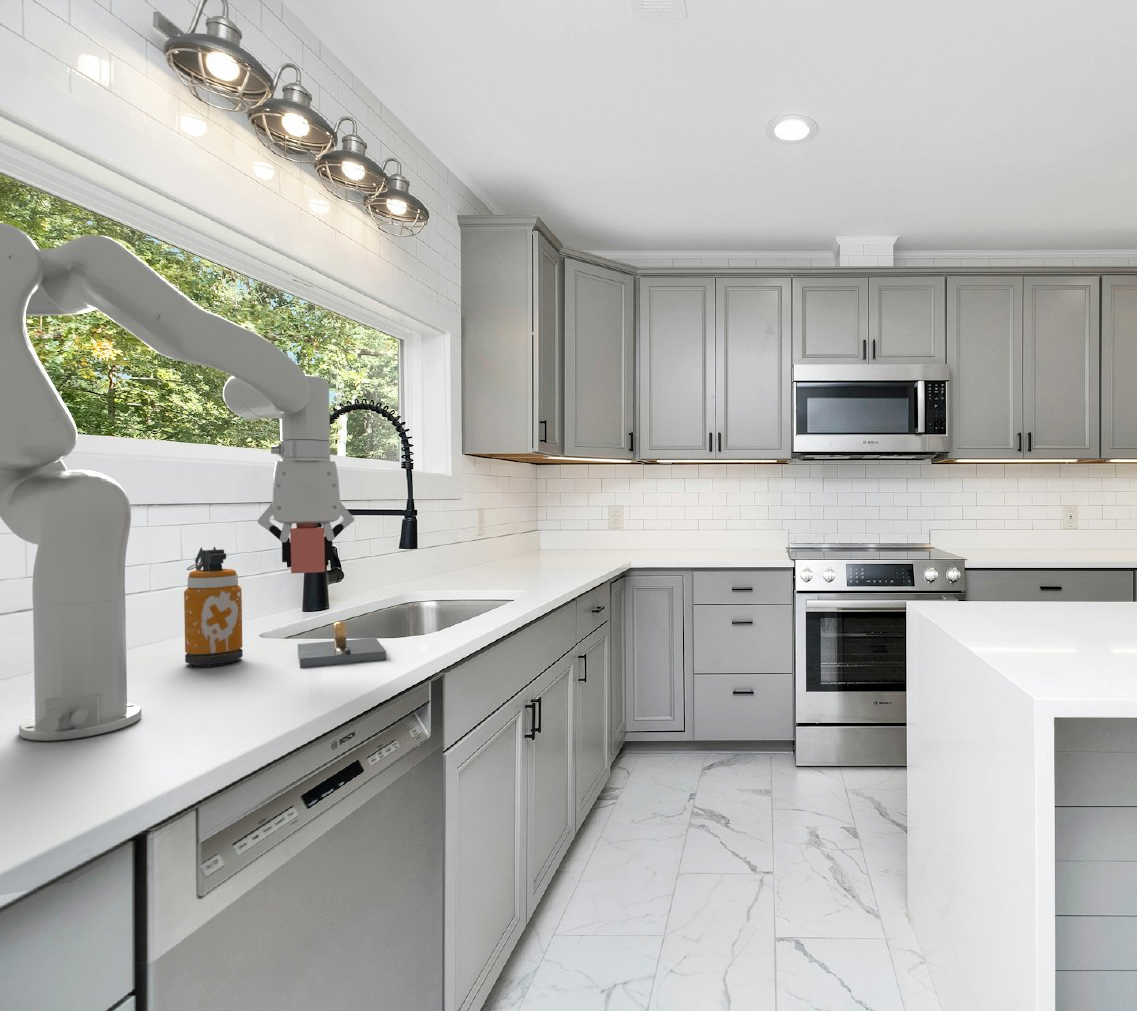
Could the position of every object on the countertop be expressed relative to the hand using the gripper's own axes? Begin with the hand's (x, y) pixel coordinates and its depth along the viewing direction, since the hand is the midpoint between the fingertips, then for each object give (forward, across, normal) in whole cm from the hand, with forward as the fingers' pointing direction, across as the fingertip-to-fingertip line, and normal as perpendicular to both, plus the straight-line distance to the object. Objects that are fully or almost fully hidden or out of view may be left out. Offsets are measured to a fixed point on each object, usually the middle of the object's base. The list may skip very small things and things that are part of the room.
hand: (307, 564), depth 118 cm
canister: (+18, -15, +16) cm, 29 cm away
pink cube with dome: (+1, 0, 0) cm, 1 cm away
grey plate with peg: (+17, +6, +12) cm, 22 cm away
